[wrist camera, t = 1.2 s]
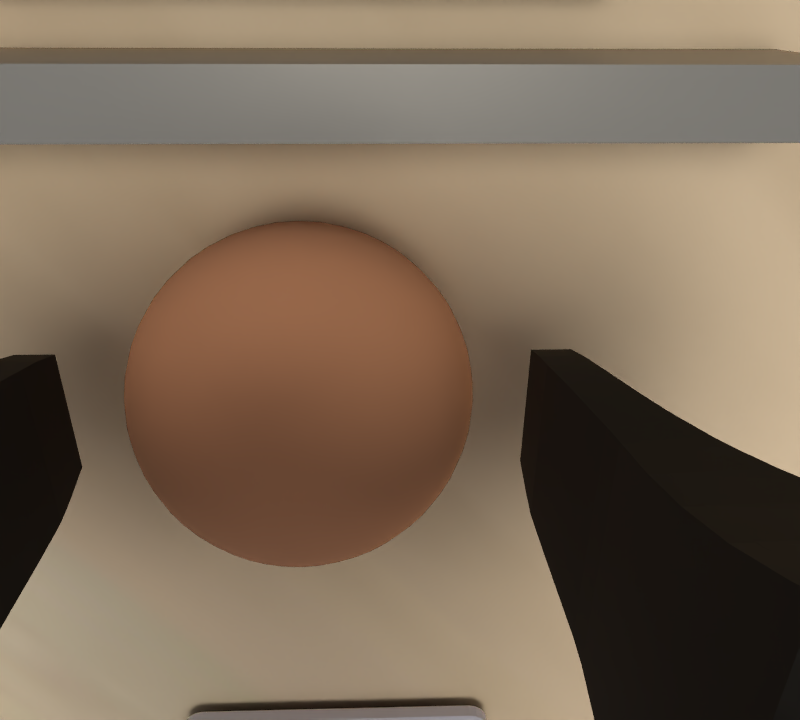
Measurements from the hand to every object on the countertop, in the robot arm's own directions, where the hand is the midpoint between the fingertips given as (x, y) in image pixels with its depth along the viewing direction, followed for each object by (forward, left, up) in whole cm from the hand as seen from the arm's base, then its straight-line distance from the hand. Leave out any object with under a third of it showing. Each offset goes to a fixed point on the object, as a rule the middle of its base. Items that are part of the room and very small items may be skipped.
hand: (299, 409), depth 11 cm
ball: (0, 0, -1) cm, 1 cm away
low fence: (+4, 0, -4) cm, 6 cm away
